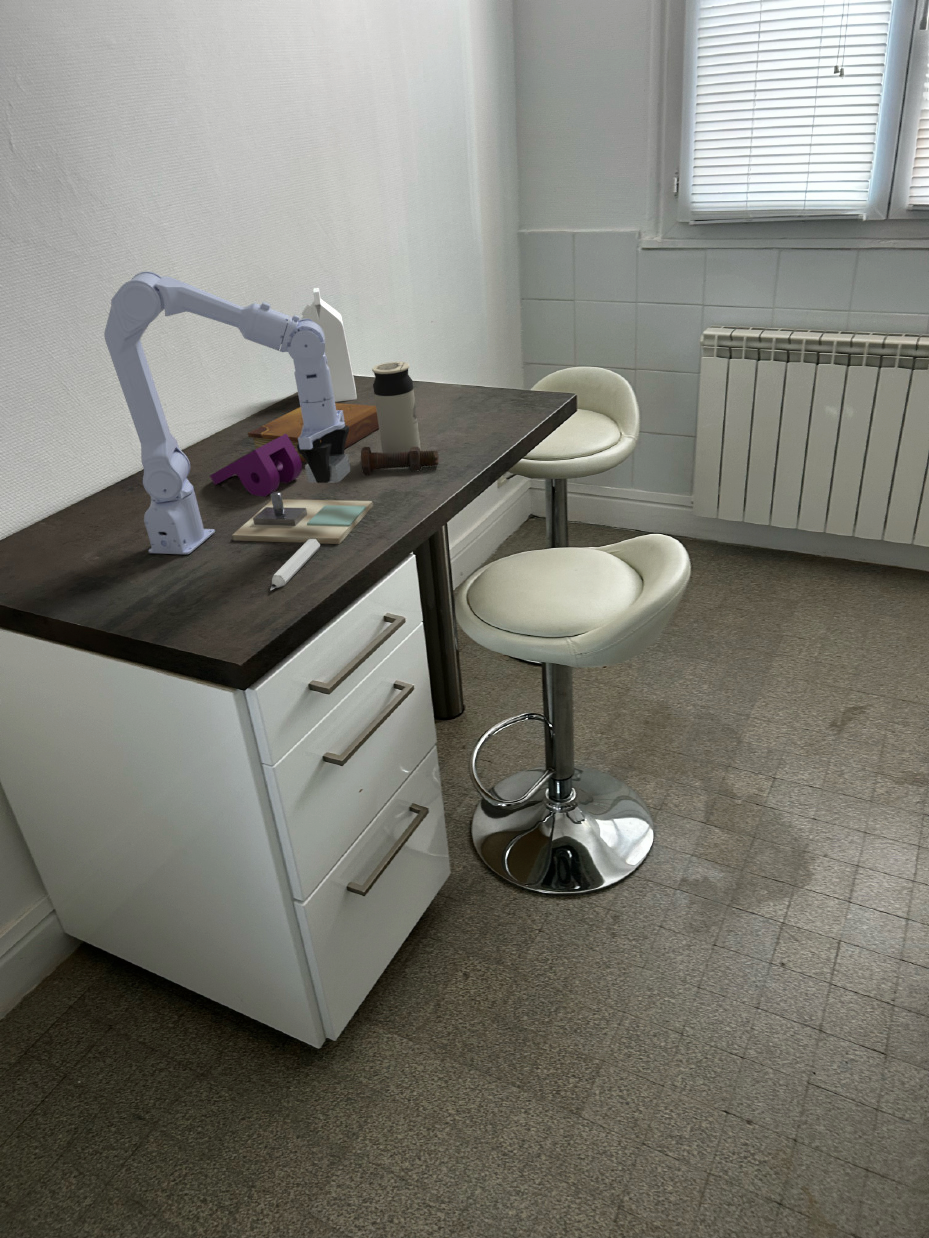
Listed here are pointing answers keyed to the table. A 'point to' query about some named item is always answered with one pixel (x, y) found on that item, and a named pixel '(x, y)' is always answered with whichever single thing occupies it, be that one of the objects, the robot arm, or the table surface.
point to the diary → (355, 416)
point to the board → (310, 522)
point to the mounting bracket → (264, 467)
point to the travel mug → (395, 407)
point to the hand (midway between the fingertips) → (330, 475)
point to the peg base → (279, 513)
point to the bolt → (397, 459)
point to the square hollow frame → (333, 468)
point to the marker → (294, 563)
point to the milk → (333, 347)
